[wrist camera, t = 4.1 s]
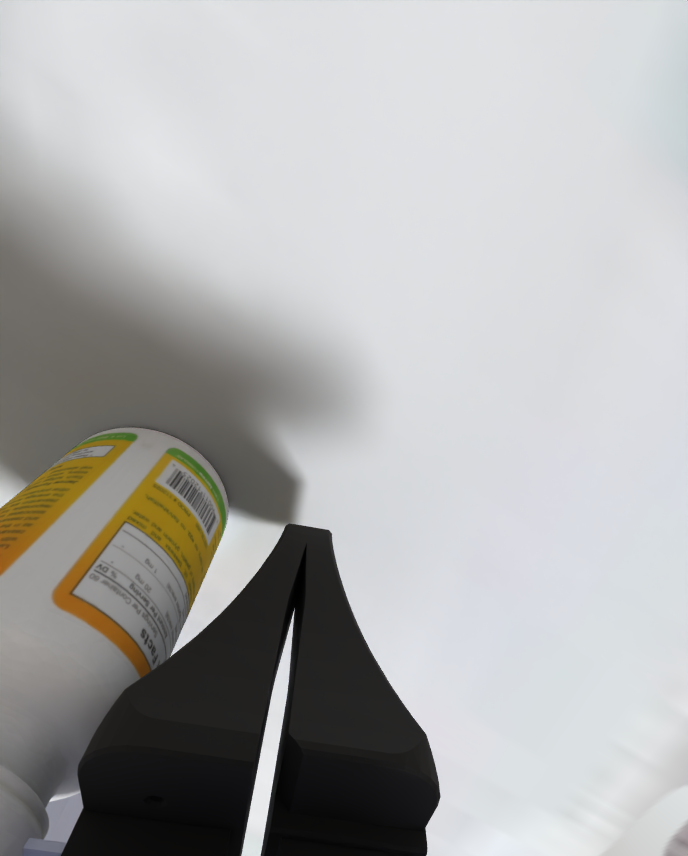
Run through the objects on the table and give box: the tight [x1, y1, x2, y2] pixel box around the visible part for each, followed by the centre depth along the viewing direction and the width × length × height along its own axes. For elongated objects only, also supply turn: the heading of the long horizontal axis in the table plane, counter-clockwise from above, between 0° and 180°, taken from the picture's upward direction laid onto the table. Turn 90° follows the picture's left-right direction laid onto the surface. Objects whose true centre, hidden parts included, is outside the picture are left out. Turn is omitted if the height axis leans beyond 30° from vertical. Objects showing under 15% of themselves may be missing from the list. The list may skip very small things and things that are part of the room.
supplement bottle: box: [0, 428, 228, 856], centre depth 10 cm, size 5×5×10 cm
